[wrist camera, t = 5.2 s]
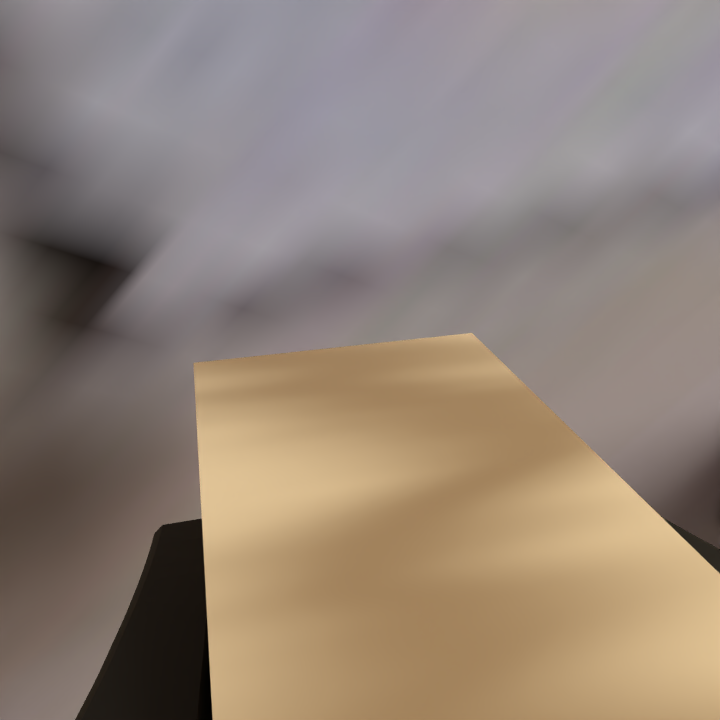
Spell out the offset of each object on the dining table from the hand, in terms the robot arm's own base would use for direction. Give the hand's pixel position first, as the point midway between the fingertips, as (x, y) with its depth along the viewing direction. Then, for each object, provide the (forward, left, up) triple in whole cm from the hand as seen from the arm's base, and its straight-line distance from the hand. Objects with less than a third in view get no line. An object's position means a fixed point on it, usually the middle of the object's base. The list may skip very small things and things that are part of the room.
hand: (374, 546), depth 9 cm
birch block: (0, 0, -2) cm, 2 cm away
